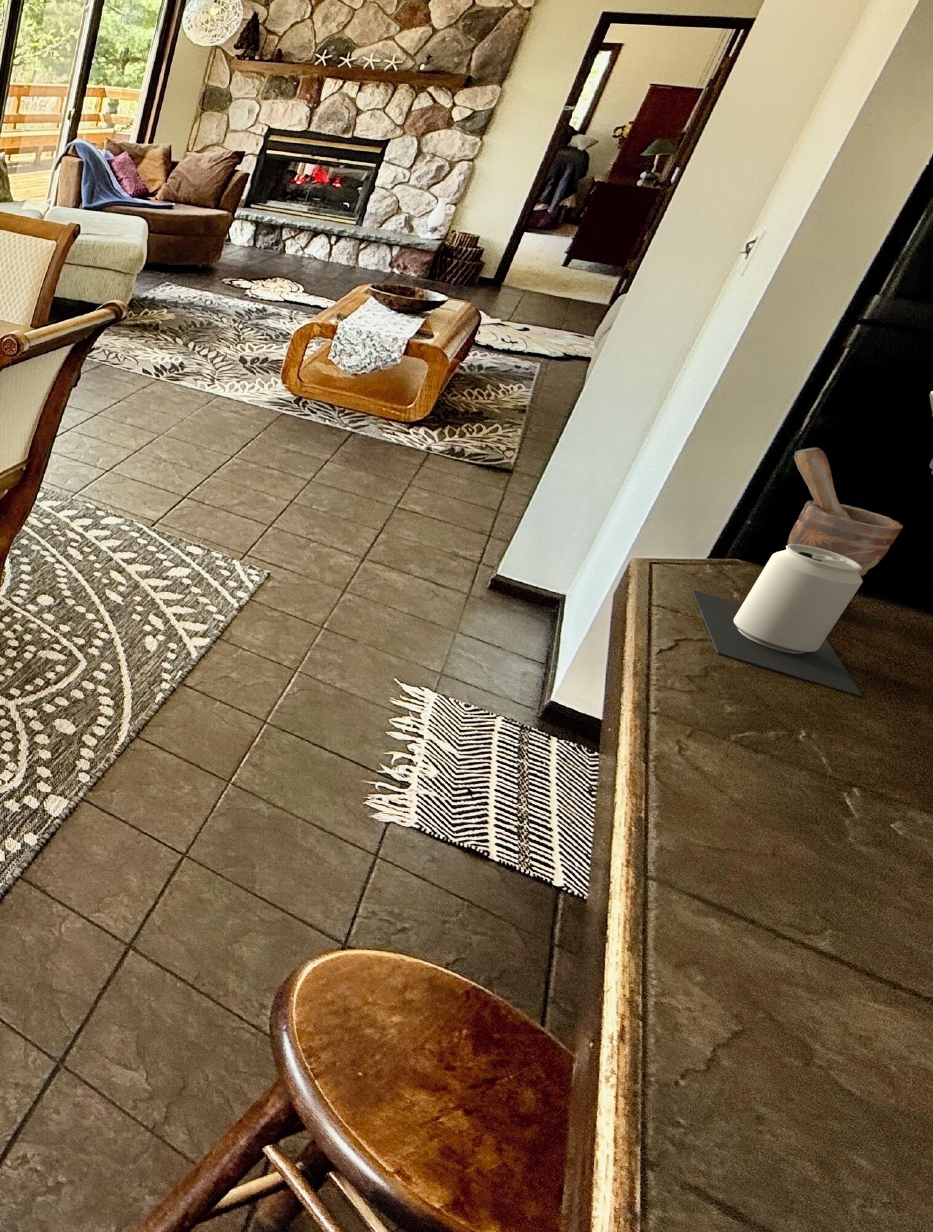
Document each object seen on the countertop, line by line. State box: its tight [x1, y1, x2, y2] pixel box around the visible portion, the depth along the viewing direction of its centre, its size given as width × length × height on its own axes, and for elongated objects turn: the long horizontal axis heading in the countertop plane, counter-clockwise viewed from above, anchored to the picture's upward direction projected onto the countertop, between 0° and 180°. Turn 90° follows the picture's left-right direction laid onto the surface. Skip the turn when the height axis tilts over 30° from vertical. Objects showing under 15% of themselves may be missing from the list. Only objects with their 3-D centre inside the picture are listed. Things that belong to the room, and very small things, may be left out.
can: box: [733, 544, 864, 654], centre depth 110 cm, size 8×8×12 cm
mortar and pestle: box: [787, 447, 904, 578], centre depth 121 cm, size 12×9×20 cm
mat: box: [691, 589, 863, 698], centre depth 113 cm, size 12×20×1 cm, turn 142°
